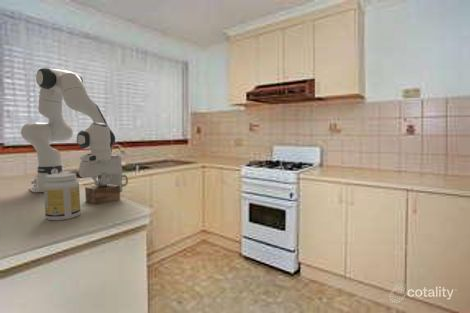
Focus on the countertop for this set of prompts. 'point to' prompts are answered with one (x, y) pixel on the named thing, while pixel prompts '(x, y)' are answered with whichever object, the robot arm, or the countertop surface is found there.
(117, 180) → the mug
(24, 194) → the countertop surface
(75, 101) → the robot arm
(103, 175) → the cylinder
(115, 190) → the bore block
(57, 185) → the supplement tub
